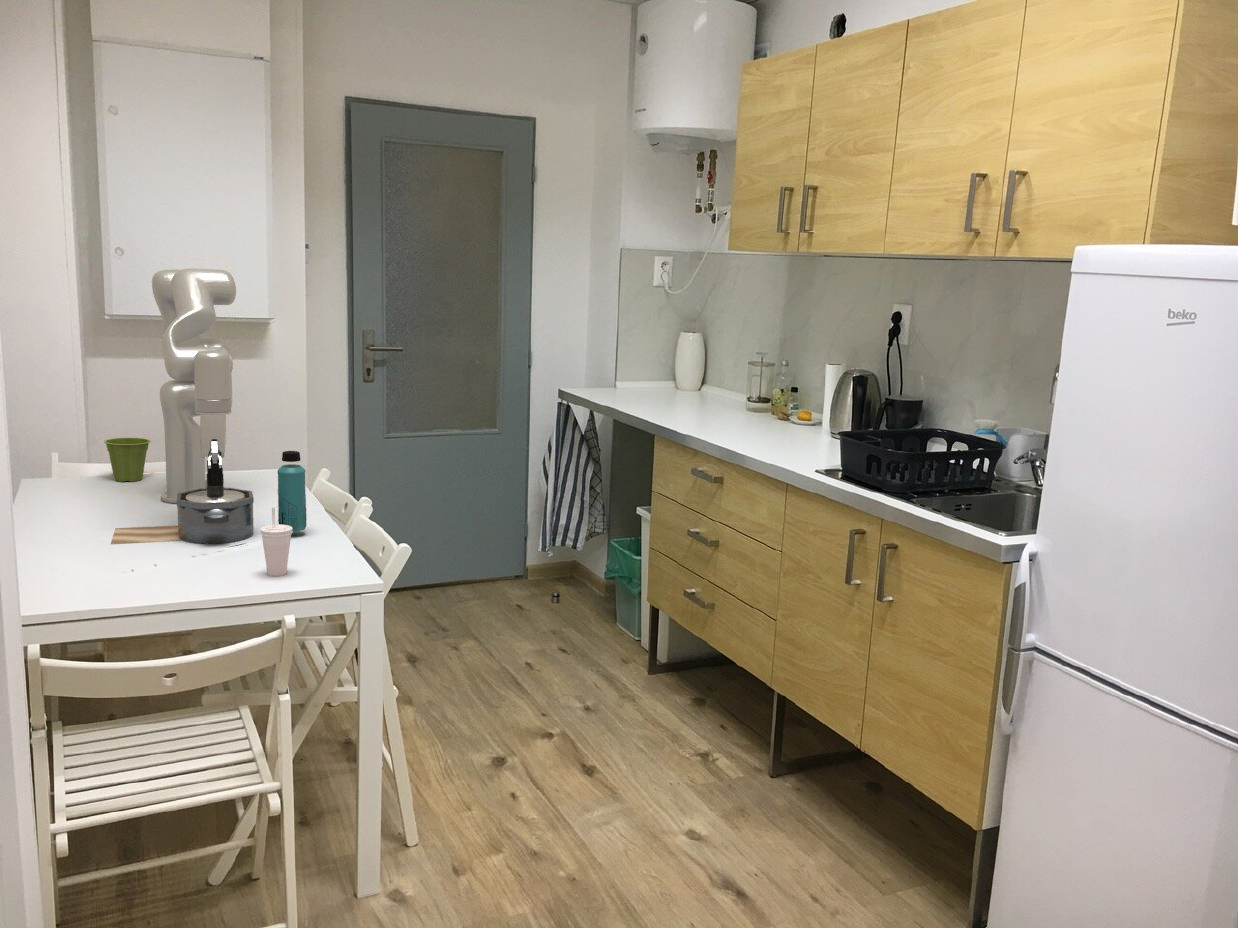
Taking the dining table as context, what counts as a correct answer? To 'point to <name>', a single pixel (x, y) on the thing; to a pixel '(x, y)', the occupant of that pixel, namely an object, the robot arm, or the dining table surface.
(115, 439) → the plant pot
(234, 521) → the stockpot
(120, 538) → the plate
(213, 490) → the lid
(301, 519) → the beverage bottle
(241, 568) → the dining table surface
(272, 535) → the smoothie
